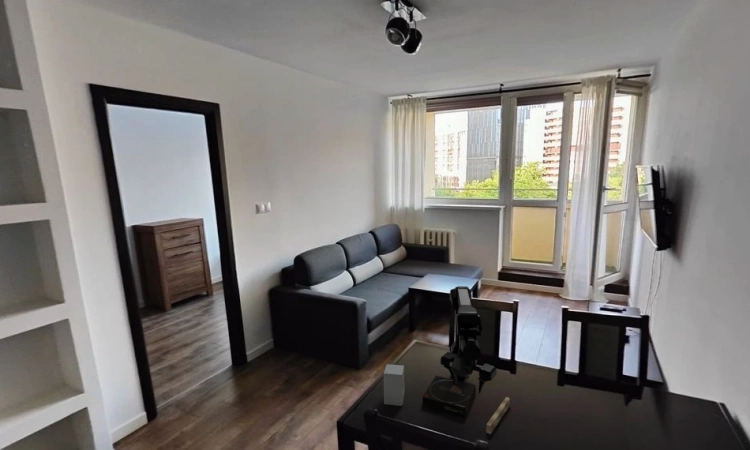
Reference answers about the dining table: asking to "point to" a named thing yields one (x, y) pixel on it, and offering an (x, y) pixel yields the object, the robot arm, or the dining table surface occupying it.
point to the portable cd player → (449, 396)
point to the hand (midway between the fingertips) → (467, 388)
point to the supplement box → (394, 385)
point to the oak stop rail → (498, 415)
